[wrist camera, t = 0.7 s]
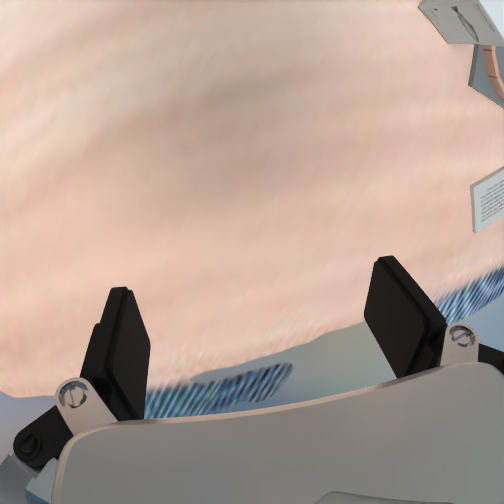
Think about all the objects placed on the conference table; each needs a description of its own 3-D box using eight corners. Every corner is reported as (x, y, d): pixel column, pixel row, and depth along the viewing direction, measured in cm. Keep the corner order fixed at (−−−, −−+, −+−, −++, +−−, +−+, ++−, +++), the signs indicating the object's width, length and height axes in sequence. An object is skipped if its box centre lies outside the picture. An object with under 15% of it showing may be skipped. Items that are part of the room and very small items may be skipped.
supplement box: (416, 7, 29) (477, -2, 18) (437, -17, 27) (497, -27, 16) (446, 44, 32) (509, 49, 21) (466, 19, 30) (526, 20, 19)
